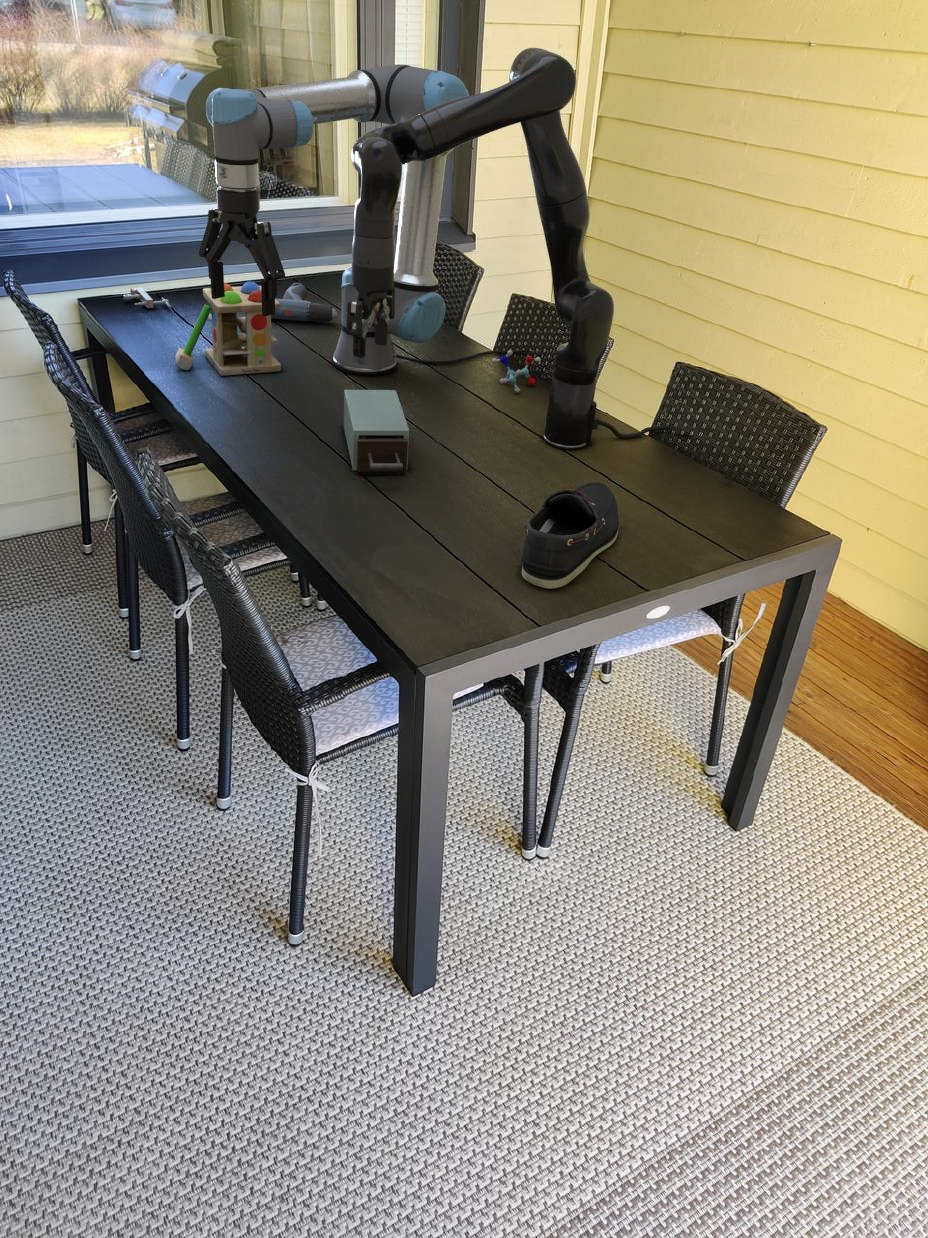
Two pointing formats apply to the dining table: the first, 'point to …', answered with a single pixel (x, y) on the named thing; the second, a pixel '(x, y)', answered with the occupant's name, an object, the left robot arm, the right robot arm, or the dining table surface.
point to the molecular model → (511, 373)
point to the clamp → (144, 298)
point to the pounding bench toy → (235, 333)
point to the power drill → (302, 307)
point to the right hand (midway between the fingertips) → (370, 350)
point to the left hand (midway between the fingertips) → (243, 305)
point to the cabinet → (372, 417)
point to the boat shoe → (568, 534)
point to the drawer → (381, 453)
